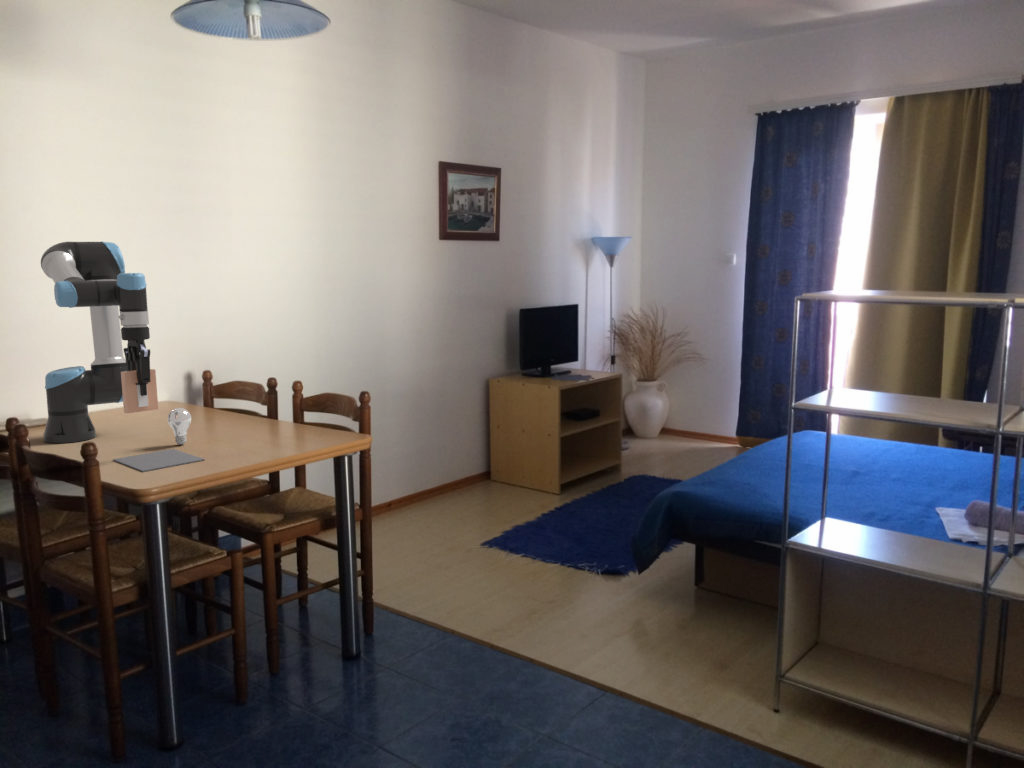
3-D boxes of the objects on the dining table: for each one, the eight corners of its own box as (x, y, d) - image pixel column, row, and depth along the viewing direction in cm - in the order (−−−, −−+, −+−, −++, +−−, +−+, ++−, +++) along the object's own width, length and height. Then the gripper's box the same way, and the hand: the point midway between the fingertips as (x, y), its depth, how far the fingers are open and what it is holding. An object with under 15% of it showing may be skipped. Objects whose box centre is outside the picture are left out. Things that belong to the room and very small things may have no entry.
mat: (113, 460, 241) (113, 459, 241) (173, 450, 254) (173, 448, 254) (143, 472, 228) (142, 470, 227) (204, 460, 241) (204, 459, 241)
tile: (124, 412, 240) (120, 371, 239) (154, 408, 247) (151, 368, 245) (127, 413, 238) (124, 372, 237) (158, 409, 245) (155, 369, 243)
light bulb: (172, 448, 256) (170, 410, 254) (167, 444, 262) (164, 407, 260) (195, 445, 260) (193, 408, 258) (189, 441, 266) (187, 405, 264)
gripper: (111, 326, 242) (117, 405, 245) (132, 327, 231) (139, 410, 234) (136, 324, 247) (142, 402, 250) (159, 326, 237) (165, 406, 240)
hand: (141, 405), depth 242 cm, fingers closed on tile, 2 cm apart
